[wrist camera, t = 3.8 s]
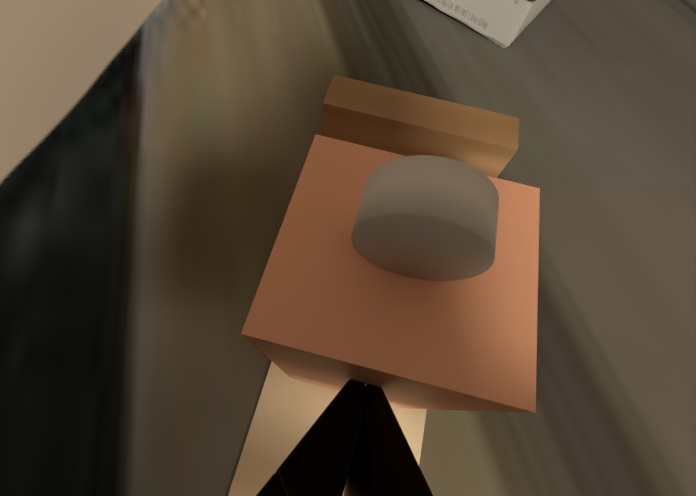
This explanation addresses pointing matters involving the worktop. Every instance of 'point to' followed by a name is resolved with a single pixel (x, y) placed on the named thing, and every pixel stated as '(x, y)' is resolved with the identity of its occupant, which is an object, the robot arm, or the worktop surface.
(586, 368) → the worktop surface
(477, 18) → the tea box
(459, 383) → the slider
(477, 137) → the track
